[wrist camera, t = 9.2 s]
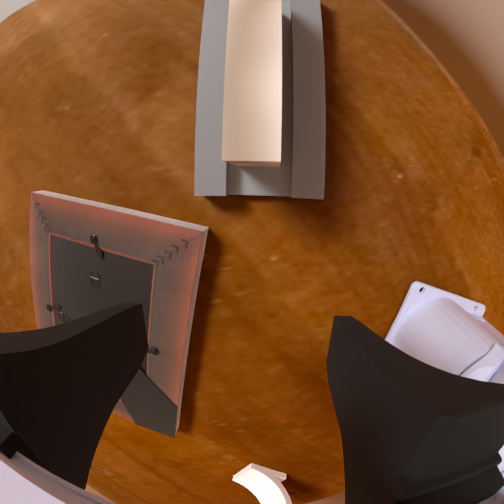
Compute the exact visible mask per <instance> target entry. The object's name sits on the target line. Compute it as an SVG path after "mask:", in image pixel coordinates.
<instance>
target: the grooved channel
mask: <svg viewBox="0 0 504 504" xmlns="http://www.w3.org/2000/svg"><path fill="white" fill-rule="evenodd" d="M281 9H282V128H281V163H280V167H266V166H238V165H234V164H231V163H228V162H224V161H222V130H223V101H224V78H225V58H226V41H227V25H228V11H229V0H205V5H204V14H203V24H202V34H201V45H200V57H199V71H198V86H197V105H196V130H195V185H194V196H227V195H262V196H289V197H291V198H305V199H323V200H324V186H325V153H326V96H325V65H324V46H323V31H322V18H321V7H320V0H281Z"/></svg>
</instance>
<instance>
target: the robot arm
mask: <svg viewBox="0 0 504 504" xmlns="http://www.w3.org/2000/svg"><path fill="white" fill-rule="evenodd" d="M422 287H423V289H422V291H420V288H422ZM419 291H420V292H419ZM475 306H476V307H475ZM474 307H475V308H474ZM484 311H485V306H484V305H483V304H481V303H478V302H475V301H473V300H470V299H467V298H464V297H461V296H459V295H456V294H453V293H450V292H447V291H445V290H442V289H439V288H436V287H433V286H430V285H427V284H424V283H422V282H419V281H415V282H413V283H412V285H411V286H410V289H409V291H408V293H407V296H406V298H405V300H404V302H403V304H402V306H401V309H400V311H399V313H398V315H397V317H396V319H395V321H394V323H393V325H392V327H391V329H390V331H389V333H388V335H387V337H386V338H385V340H384V339H383V338H381V337H380V336H378V335H377V334H376V333H374V332H373V331H372V330H370V329H369V328H368V327H366V326H365V325H363V324H362V323H361V322H359V321H358V320H356V319H355V318H353V317H352V316H334V321H333V327H332V333H331V339H330V345H329V350H328V356H327V361H326V362H327V372H328V381H329V386H330V391H331V395H332V399H333V403H334V407H335V411H336V415H337V419H338V423H339V427H340V431H341V437H342V445H343V455H344V470H345V504H504V336H503V335H502V334H501V333H500V332H499V331H498V330H497V329H495V328H494V327H493V326H492V325H491V324H490V323H488V322H487V321H486V320H485V319H484V318H483V317H482V316H483V314H484ZM148 349H149V345H148V339H147V333H146V327H145V321H144V314H143V307H142V303H135V302H125V303H121V304H118V305H114V306H111V307H109V308H106V309H103V310H100V311H98V312H95V313H92V314H90V315H87V316H84V317H81V318H78V319H75V320H72V321H69V322H66V323H62V324H59V325H55V326H51V327H47V328H42V329H37V330H29V331H22V332H12V333H0V504H116V503H113V502H111V501H108V500H106V499H103V498H101V497H99V496H96V495H94V494H91V493H90V492H87V491H85V487H86V483H87V478H88V474H89V470H90V467H91V463H92V460H93V457H94V454H95V451H96V448H97V445H98V443H99V440H100V438H101V435H102V433H103V430H104V428H105V426H106V423H107V421H108V419H109V417H110V415H111V413H112V411H113V409H114V407H115V406H116V404H117V402H118V401H119V399H120V398H121V396H122V395H123V393H124V392H125V390H126V389H127V387H128V386H129V384H130V383H131V381H132V379H133V378H134V376H135V375H136V373H137V372H138V370H139V368H140V367H141V365H142V362H143V360H144V358H145V356H146V353H147V351H148Z"/></svg>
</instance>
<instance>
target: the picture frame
mask: <svg viewBox="0 0 504 504" xmlns="http://www.w3.org/2000/svg"><path fill="white" fill-rule="evenodd" d="M208 229H209V227H206V226H201V225H197V224H193V223H188V222H184V221H180V220H175V219H171V218H167V217H162V216H158V215H154V214H149V213H145V212H140V211H136V210H131V209H127V208H122V207H118V206H113V205H109V204H104V203H100V202H95V201H91V200H86V199H81V198H77V197H72V196H67V195H63V194H58V193H53V192H48V191H44V190H42V191H35V192H31V203H30V267H31V281H32V292H33V301H34V309H35V316H36V323H37V329H42V328H47V327H51V326H55V325H59V324H62V323H66V322H69V321H72V320H75V319H78V318H81V317H84V316H87V315H90V314H92V313H95V312H98V311H100V310H103V309H106V308H109V307H111V306H114V305H118V304H121V303H125V302H135V303H142V307H143V314H144V321H145V327H146V333H147V339H148V345H149V349H148V351H147V353H146V356H145V358H144V360H143V362H142V365H141V367H140V368H139V370H138V372H137V373H136V375H135V376H134V378H133V379H132V381H131V383H130V384H129V386H128V387H127V389H126V390H125V392H124V393H123V395H122V396H121V398H120V399H119V401H118V402H117V404H116V406H115V407H114V409H113V411H112V413H113V414H116V415H118V416H120V417H123V418H125V419H128V420H130V421H133V422H135V423H136V424H137V425H140V426H142V427H145V428H148V429H151V430H153V431H156V432H159V433H162V434H165V435H168V436H171V437H175V435H176V433H177V430H178V428H179V422H180V413H181V404H182V395H183V387H184V379H185V371H186V363H187V356H188V349H189V342H190V335H191V328H192V322H193V315H194V309H195V302H196V296H197V290H198V284H199V279H200V273H201V267H202V261H203V256H204V251H205V245H206V240H207V235H208Z"/></svg>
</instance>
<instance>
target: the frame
mask: <svg viewBox="0 0 504 504" xmlns="http://www.w3.org/2000/svg"><path fill="white" fill-rule="evenodd" d="M281 128H282V9H281V0H229V11H228V25H227V41H226V58H225V78H224V101H223V130H222V161H224V162H228V163H231V164H234V165H238V166H266V167H280V163H281Z"/></svg>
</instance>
